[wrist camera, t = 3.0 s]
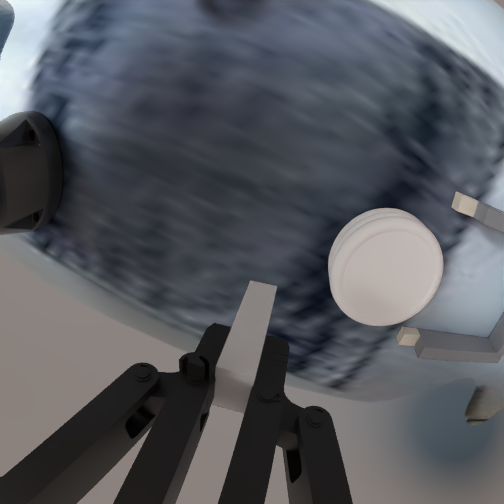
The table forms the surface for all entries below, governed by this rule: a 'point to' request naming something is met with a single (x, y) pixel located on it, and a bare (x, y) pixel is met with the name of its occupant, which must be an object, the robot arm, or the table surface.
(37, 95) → the table surface
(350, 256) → the white round disc
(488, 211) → the grey u-shaped frame
